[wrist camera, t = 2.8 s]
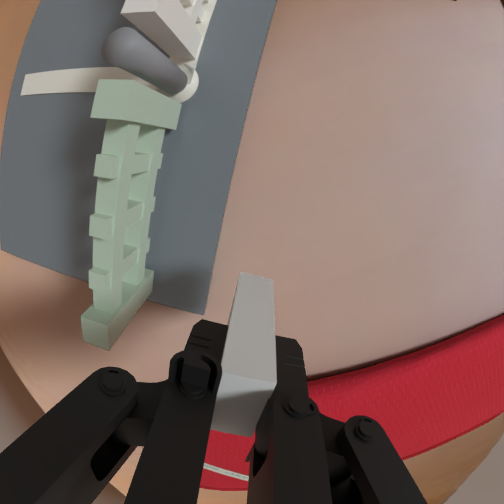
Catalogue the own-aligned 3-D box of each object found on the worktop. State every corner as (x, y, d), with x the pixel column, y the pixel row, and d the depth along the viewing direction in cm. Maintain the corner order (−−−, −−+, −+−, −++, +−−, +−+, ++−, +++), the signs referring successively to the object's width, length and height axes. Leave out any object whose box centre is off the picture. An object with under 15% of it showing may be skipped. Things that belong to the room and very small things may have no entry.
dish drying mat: (510, 391, 22) (523, 409, 19) (194, 472, 27) (188, 496, 23) (544, 284, 17) (566, 300, 14) (130, 387, 22) (115, 416, 19)
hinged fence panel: (165, 68, 13) (108, 28, 7) (190, 71, 13) (143, 25, 7) (131, 285, 17) (79, 345, 11) (152, 291, 17) (105, 356, 11)
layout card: (61, -30, 10) (57, -33, 9) (291, -45, 10) (291, -51, 10) (5, 247, 18) (0, 250, 17) (205, 310, 18) (203, 316, 18)
